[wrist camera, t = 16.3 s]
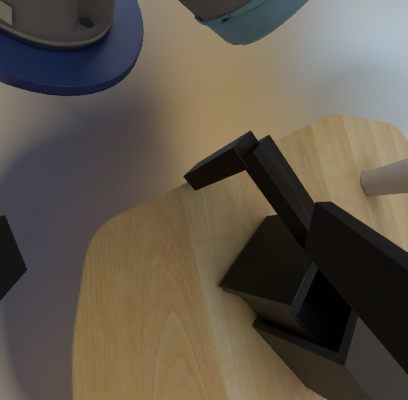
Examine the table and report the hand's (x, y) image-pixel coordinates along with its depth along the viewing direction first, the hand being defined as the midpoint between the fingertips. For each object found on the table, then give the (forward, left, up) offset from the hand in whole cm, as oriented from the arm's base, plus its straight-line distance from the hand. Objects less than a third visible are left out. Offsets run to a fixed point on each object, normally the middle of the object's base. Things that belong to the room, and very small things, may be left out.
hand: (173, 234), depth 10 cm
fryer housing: (+15, +30, -18) cm, 38 cm away
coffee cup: (-11, +64, -18) cm, 68 cm away
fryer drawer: (+3, +19, -17) cm, 26 cm away
